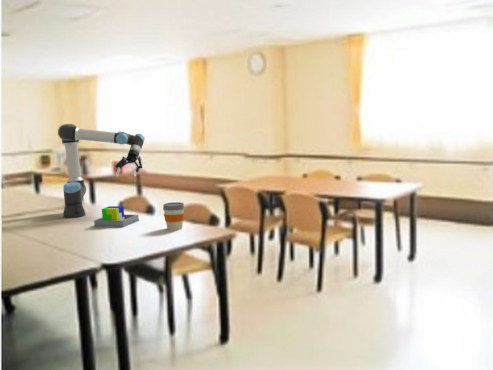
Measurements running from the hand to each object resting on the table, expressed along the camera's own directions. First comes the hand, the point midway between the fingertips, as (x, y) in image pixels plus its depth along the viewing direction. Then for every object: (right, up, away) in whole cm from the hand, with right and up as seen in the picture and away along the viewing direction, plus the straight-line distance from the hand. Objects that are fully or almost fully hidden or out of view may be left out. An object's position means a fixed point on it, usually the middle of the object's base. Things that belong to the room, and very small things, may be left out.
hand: (125, 175), depth 368 cm
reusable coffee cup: (+41, -33, -49) cm, 72 cm away
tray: (+1, -31, -27) cm, 41 cm away
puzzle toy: (0, -31, -30) cm, 43 cm away
